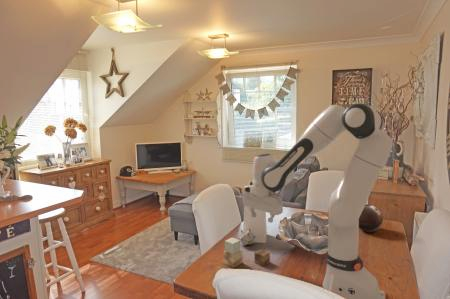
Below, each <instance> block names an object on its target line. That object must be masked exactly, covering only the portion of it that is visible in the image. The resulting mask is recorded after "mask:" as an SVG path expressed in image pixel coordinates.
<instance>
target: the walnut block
mask: <svg viewBox="0 0 450 299" xmlns="http://www.w3.org/2000/svg"><path fill="white" fill-rule="evenodd" d="M270 255H271V252H270V251H268V250H264V249H261V248H260V249H259V250H257V251H255V252H254V264H256V265H259V266H261V267H265V266H266V265H268V264H269V263H270V262H271V261H270V260H271V256H270Z"/></svg>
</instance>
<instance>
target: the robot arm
mask: <svg viewBox="0 0 450 299" xmlns="http://www.w3.org/2000/svg"><path fill="white" fill-rule="evenodd" d="M383 123H384V120H383V116H382V114H381V113H380V111H379V110H377V109H375V107H373V106H371V105H368V104H365V103H363V102H362V103H361V102H360V103H354V104H351V105H349V106H347V107H346V108H345V107H344V106H341V105H339V104H332V105H329V106H328V107H327V108H325V109H324V110H323V111H321V113H319V114H318V115H317V116H316V117H314V119H313V120H312V121H311V122H310V124H309V125H308V126H307V127H306V129H305V130H304V131H303V133H302V134H301V136H300V137H299V139H298V140H297V141H296V143H295V144H294V145H293V146H292V147H291V148H290V149H289V150H288V151H287V152H286V154H285V155H283V157H282V158H281V159H280V160H279V159H277V158H276V157H274V156H273V154H271V153H262V154H258V155H256V156H255V157H254V158H253V163H252V177H253V180H252V184H249V185H246V186H243V191H244V192H243V193H242V204H243V207H244V206H247V207H249V209H250V212H251V216H252V217H256V213H255V211H254V209H258V210H261V211H264V212H266V213H269V215H270V217H269V218H267V222H268V223H273V222H274V218H275V217H276V216H280V215H281V214H283V213H284V212H283V211H284V208H283V196H281V194H280V193H278V191H280V190H282V189H283V188H284V187H285V186H286V185H288V184H290V183H291V182H292V181H293V180H294V179H295V175H296V174H295V169H296V168H297V167H298V166H299V165H300V164H301V163H302V162H303V161H304V160H306V159H307V158H309V157H311V156H312V155H315V154H316V153H319V152H321V151H322V150H323V149H325V148H326V147H328V146H329V145H330V144H331V143H332V142H333V141H335V140H336V138H337V137H338V136H339V135H341V134H342V133H343V132H345V131H348V132H349V133H350V134H351V135H353V136H354V138H356V139H357V140H358V144H357V147H356V149H355V150H354V152H353V155H352V156H351V158H350V160H349V162H348V164H347V166H346V168H345V170H344V172H343V174H342V176H341V179H340V181H339V183H338V185H337V188H335V189H334V191H333V192H331V194H330V197H329V201H328V206H327V207H328V209H327V210H328V229H327V251H326V255H325V256H326V257H325V262H326V263H325V264H326V269H325V270H326V271H325V275H324V279H323V282H322V288H323V289H324V288H325V289H328V290H330V291H332V292H334V293H336V294H338V295H341V296H342V297H345V298H346V299H386V293H385V291H384V290H382V289H381V288H380V286H379V281H378V279H377V278H376V277H375V276H374V275H373V274H372V273H371V272H370V271H369V270H367V269H366V268H365V267H364V262H365V258H361V257H360V255H359V239H360V237H359V236H360V235H359V234H360V233H359V231H360V230H359V229H360V228H359V217H360V215H361V213H362V211H363V209H364V207H365V205H366V204H367V203H368V199H369V197H370V195H371V193H372V190H373V188H374V186H375V184H376V182H377V180H378V179H379V177H380V174H382V173H381V172H382V171H383V169H384V168H385V166H386V164H387V162H388V160H389V158H390V155H391V152H392V149H393V147H394V146H393V144H394V142H393V139H392V137H391V136H390V135H388V134H387V133H385V132H383V131H382V130H381V129H382V127H383Z"/></svg>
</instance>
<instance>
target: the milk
mask: <svg viewBox="0 0 450 299" xmlns="http://www.w3.org/2000/svg"><path fill="white" fill-rule="evenodd" d="M243 207H244V208H243V230H242V231H247V230H249V229H250V232H251V233H252V234H253V235H254V236H256V237H254V239H253V242H252V243H256V244H257V243H258V244H261V243H262V244H266V243H267V237H268V236H267V235H268V233H267V232H268V231H267V212H264V211H261V210H258V209H254V211H255V213H256V217H252V216H251V212H250V209H249V207H247V206H244V205H243Z"/></svg>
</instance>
